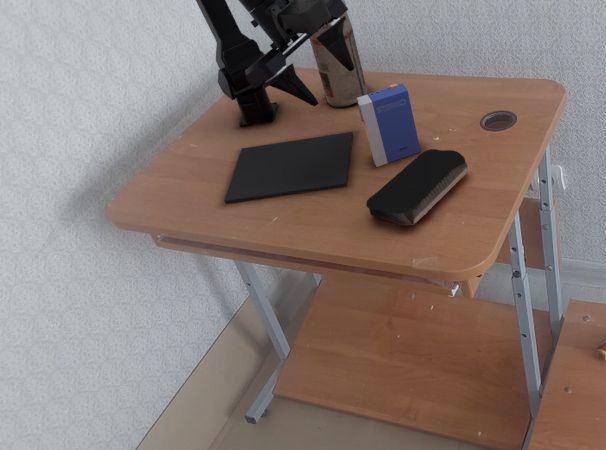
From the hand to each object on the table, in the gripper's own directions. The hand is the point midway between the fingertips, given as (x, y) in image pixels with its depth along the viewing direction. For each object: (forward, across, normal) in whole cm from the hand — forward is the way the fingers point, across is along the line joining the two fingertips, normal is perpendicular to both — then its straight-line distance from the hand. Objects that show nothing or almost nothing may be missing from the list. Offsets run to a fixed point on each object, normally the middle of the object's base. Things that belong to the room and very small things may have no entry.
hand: (335, 87), depth 106 cm
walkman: (+16, +3, +3) cm, 16 cm away
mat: (+7, -6, +16) cm, 19 cm away
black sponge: (+20, -5, -6) cm, 21 cm away
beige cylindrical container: (+6, +16, +22) cm, 27 cm away
